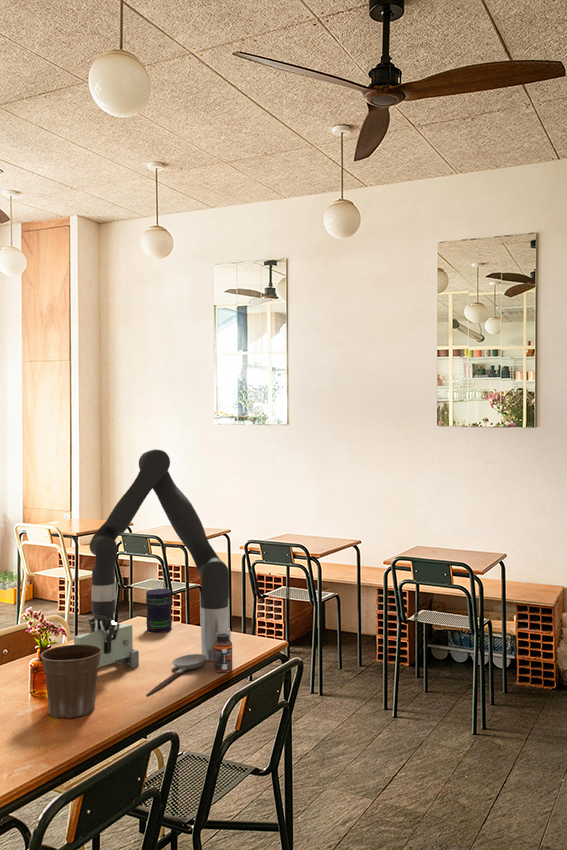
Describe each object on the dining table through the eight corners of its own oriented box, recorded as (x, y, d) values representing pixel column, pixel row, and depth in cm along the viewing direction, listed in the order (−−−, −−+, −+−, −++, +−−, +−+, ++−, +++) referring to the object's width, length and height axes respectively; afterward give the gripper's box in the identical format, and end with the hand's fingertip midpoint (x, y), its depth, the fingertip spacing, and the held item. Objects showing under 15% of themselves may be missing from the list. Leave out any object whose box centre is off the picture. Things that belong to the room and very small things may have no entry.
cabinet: (138, 665, 239) (138, 641, 240) (79, 684, 222) (78, 657, 222) (110, 657, 250) (110, 633, 250) (51, 674, 232) (50, 649, 233)
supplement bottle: (229, 673, 230) (229, 637, 230) (211, 672, 231) (210, 636, 231) (234, 667, 235) (234, 632, 236) (217, 667, 237) (216, 631, 237)
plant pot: (80, 696, 212) (79, 640, 212) (114, 708, 202) (114, 649, 202) (29, 713, 199) (28, 653, 200) (63, 727, 189) (62, 664, 189)
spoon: (212, 663, 240) (211, 653, 240) (163, 702, 209) (162, 691, 209) (183, 663, 243) (182, 654, 244) (130, 701, 212) (129, 691, 212)
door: (134, 656, 239) (134, 625, 239) (82, 671, 224) (81, 638, 224) (127, 654, 241) (126, 623, 242) (74, 668, 226) (74, 636, 226)
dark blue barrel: (170, 632, 280) (169, 593, 280) (144, 633, 280) (143, 594, 280) (173, 626, 290) (173, 588, 290) (148, 626, 290) (148, 589, 290)
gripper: (80, 597, 235) (81, 651, 235) (106, 603, 226) (107, 659, 225) (100, 593, 241) (101, 645, 240) (126, 598, 231) (127, 653, 231)
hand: (104, 652), depth 233 cm, fingers closed on door, 3 cm apart
